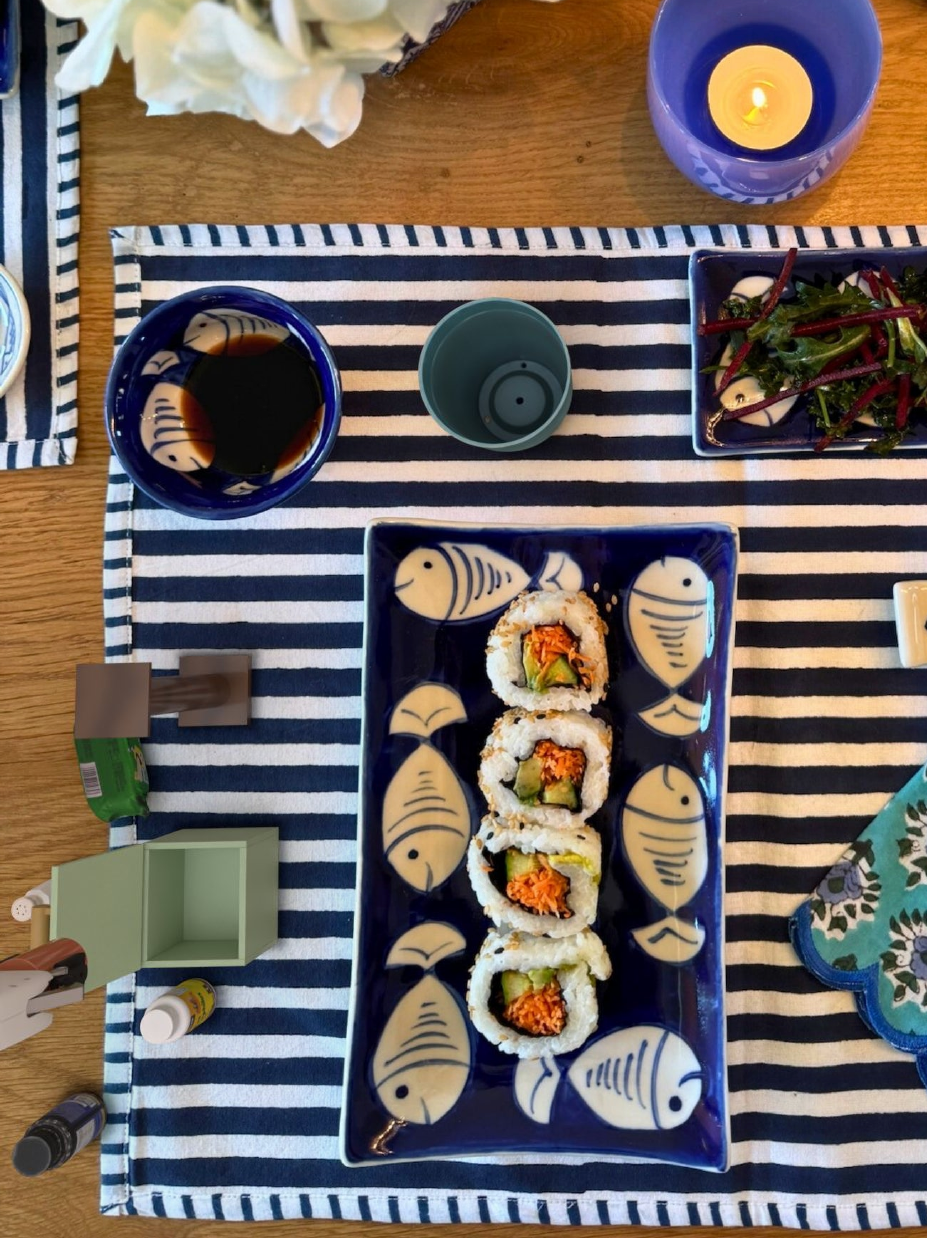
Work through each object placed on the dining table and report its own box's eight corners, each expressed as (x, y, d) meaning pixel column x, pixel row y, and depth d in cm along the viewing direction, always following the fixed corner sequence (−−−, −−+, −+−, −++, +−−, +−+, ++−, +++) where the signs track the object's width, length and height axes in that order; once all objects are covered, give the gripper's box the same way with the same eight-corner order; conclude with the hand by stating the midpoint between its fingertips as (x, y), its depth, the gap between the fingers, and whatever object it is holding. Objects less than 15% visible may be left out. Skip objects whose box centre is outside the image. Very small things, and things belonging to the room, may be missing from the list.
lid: (58, 866, 117) (17, 865, 118) (54, 1006, 116) (12, 1004, 117) (143, 843, 130) (106, 843, 131) (140, 969, 129) (103, 967, 130)
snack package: (110, 826, 141) (87, 833, 135) (84, 708, 142) (60, 711, 137) (163, 811, 141) (142, 818, 136) (137, 694, 142) (115, 696, 137)
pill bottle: (52, 1108, 138) (-6, 1149, 127) (92, 1080, 138) (38, 1118, 127) (78, 1150, 137) (22, 1194, 126) (118, 1121, 137) (66, 1163, 126)
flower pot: (430, 439, 144) (393, 413, 127) (484, 316, 146) (454, 274, 129) (555, 490, 143) (534, 470, 127) (608, 366, 145) (594, 330, 128)
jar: (35, 991, 103) (-14, 1017, 96) (37, 937, 104) (-12, 959, 97) (87, 990, 103) (42, 1016, 96) (88, 936, 104) (43, 958, 97)
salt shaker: (101, 872, 140) (49, 891, 129) (90, 914, 140) (37, 937, 129) (61, 863, 140) (5, 882, 129) (50, 905, 140) (-7, 927, 129)
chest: (278, 826, 140) (246, 840, 130) (277, 943, 139) (244, 965, 129) (182, 829, 140) (142, 842, 131) (180, 945, 139) (139, 968, 129)
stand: (182, 725, 142) (69, 743, 117) (183, 656, 142) (71, 659, 118) (251, 724, 141) (152, 741, 117) (251, 654, 142) (153, 657, 117)
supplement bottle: (217, 1022, 138) (178, 1052, 128) (174, 1021, 138) (131, 1051, 128) (219, 976, 139) (180, 1003, 128) (176, 975, 139) (134, 1002, 129)
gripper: (-203, 1092, 84) (-39, 1012, 102) (16, 1088, 83) (141, 1008, 102) (-198, 992, 84) (-37, 930, 103) (18, 987, 84) (142, 926, 102)
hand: (50, 970), depth 102 cm, fingers closed on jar, 5 cm apart
